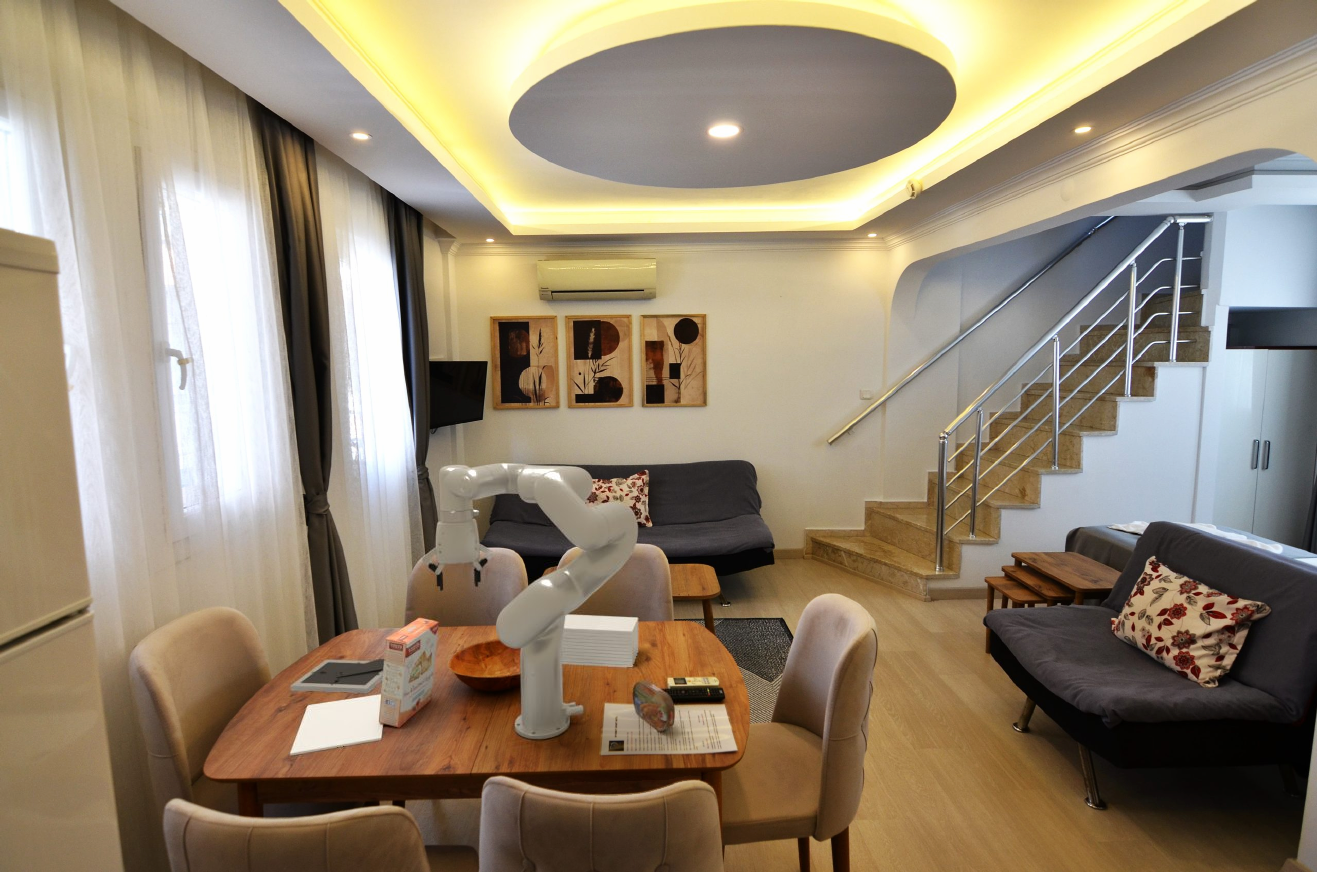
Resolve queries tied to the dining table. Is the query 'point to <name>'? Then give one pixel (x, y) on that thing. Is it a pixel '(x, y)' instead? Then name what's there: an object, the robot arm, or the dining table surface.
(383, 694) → the cracker box
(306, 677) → the picture frame
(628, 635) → the stack of papers
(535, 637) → the robot arm
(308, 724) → the white flat panel
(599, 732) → the dining table surface
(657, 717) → the tin
